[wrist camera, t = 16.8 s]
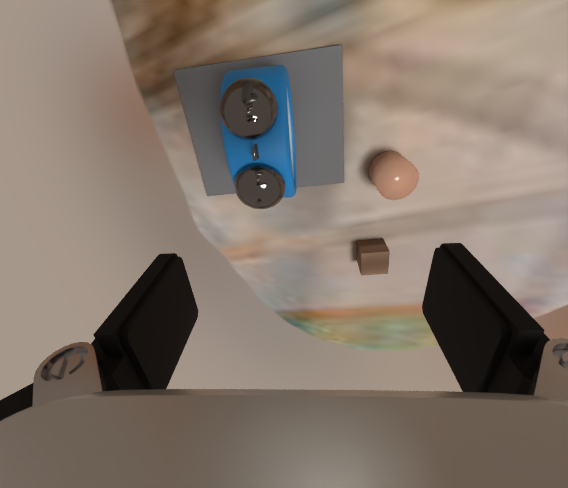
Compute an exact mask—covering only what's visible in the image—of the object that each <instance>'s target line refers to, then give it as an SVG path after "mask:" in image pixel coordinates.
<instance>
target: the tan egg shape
mask: <svg viewBox="0 0 568 488" xmlns="http://www.w3.org/2000/svg"><path fill="white" fill-rule="evenodd" d="M369 176H370V179H371V181H372V182H373V184H374V185H375V187H376V188H377V190H378V191H379V193H380V194H381V195H382V196H383V197H385V198H387V199H390V200H398V199H402V198H404V197H406V196H408V195H409V194H410V193H412V191H413V190H414V189H415V188H416V186H417V183H418V180H419V173H418V170H417V168H416V167H415V166H414V165H413V164H412V163H411V162H410V161H408V160H407V159H406V158H405V157H403V156H402V155H401V154H399V153H398V152H395V151H386V152H383V153H381V154H379V155H378V156H376V157H375V158H374V159H373V161H372V162H371V164H370V167H369Z"/></svg>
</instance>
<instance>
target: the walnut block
mask: <svg viewBox="0 0 568 488" xmlns="http://www.w3.org/2000/svg"><path fill="white" fill-rule="evenodd" d="M389 252H390V251H389V249H388V247H387V245H386V243H385V241H384V239H383V238H381V239H368V240H357V263H358V266H359V269H360V273H361V275H373V274H388V266H389Z"/></svg>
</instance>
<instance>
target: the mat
mask: <svg viewBox="0 0 568 488" xmlns="http://www.w3.org/2000/svg"><path fill="white" fill-rule="evenodd" d="M273 65H284V66H285V67H286V68H287V71H288V75H289V82H290V91H291V100H292V111H293V124H294V138H295V155H296V187H306V186H316V185H326V184H336V183H344V136H343V71H342V45H337V46H330V47H324V48H317V49H310V50H304V51H297V52H291V53H284V54H277V55H271V56H264V57H257V58H251V59H244V60H238V61H231V62H224V63H218V64H211V65H204V66H198V67H191V68H185V69H178V70H173V72H174V76H175V80H176V83H177V87H178V91H179V94H180V98H181V102H182V105H183V109H184V113H185V117H186V120H187V124H188V128H189V131H190V135H191V139H192V142H193V146H194V150H195V153H196V157H197V161H198V164H199V168H200V172H201V175H202V179H203V183H204V187H205V190H206V194H207V196H214V195H224V194H234V193H236V192H235V186H234V183H233V181H232V178H231V174H230V171H229V167H228V163H227V159H226V154H225V149H224V143H223V136H222V127H221V114H220V94H221V85H222V81H223V78H224V75H225V74H226V73H227V72H228V71H231V70H239V69H247V68H256V67H265V66H273Z"/></svg>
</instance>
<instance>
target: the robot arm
mask: <svg viewBox="0 0 568 488" xmlns="http://www.w3.org/2000/svg"><path fill="white" fill-rule="evenodd" d="M422 309H423V314H424V316H425V318H426V320H427V322H428V324H429V326H430V328H431V330H432V332H433V334H434V336H435V338H436V340H437V342H438V344H439V346H440V347H441V349H442V351H443V353H444V355H445V357H446V359H447V361H448V363H449V365H450V367H451V369H452V371H453V373H454V375H455V377H456V379H457V381H458V383H459V385H460V387H461V389H462V391H463V392H445V391H375V390H263V389H261V390H260V389H248V390H247V389H166V388H167V386H168V383H169V381H170V379H171V377H172V374H173V372H174V370H175V367H176V365H177V363H178V361H179V358H180V356H181V354H182V352H183V349H184V347H185V345H186V343H187V340H188V338H189V335H190V333H191V331H192V329H193V327H194V324H195V322H196V320H197V317H198V309H197V305H196V302H195V298H194V295H193V292H192V289H191V286H190V282H189V279H188V276H187V273H186V270H185V266H184V263H183V260H182V258H181V257H178V256H177V254H175V253H173V254H172V253H171V254H159V255H158V256H157V257H156V259H155V260H154V261H153V262H152V264H151V265H150V266H149V267H148V269H147V270H146V271H145V272H144V273H143V275H142V276H141V277H140V278H139V279H138V281H137V282H136V283H135V284H134V286H133V287H132V288H131V289H130V291H129V292H128V293H127V294H126V295H125V297H124V298H123V299H122V300H121V302H120V303H119V304H118V306H117V307H116V308H115V309H114V310H113V311H112V313H111V314H110V315H109V316H108V318H107V319H106V320H105V321H104V323H103V324H102V325H101V326H100V327H99V329H98V330H97V331H96V332H95V333H94V337H95V340H94V341H93V342H92V343H91V344H89V343H87V342H79V343H73V344H70V345H68V346H65V347H63V348H61V349H59V350H57V351H55V352H54V353H53V354H51V355H50V356H49V357H47V358H46V359H45V360H44V361H43V362H42V363H41V364H40V366H39V367H38V368H37V370H36V372H35V376H34V383H32V384H30V385H28V386H27V387H25V388H23V389H21V390H19V391H17V392H15V393H13V394H11V395H10V396H8V397H6V398H4V399H2V400H0V488H568V339H563V338H560V339H552V340H550V339H549V338H548V337H547V336H546V335H545V334H544V333H543V332H544V329H543V328H542V327H541V326H540V325H539V324H538V323H537V322H536V321H535V320H534V319H533V318H532V317H531V316H530V315H529V314H528V312H527V311H526V310H525V309H524V308H523V307H522V306H521V305H520V304H519V303H518V302H517V301H516V300H515V299H514V298H513V297H512V296H511V295H510V294H509V293H508V292H507V291H506V289H505V288H504V287H503V286H502V285H501V284H500V283H499V282H498V281H497V280H496V279H495V278H494V277H493V276H492V275H491V274H490V273H489V272H488V271H487V270H486V269H485V267H484V266H483V265H482V264H481V263H480V262H479V261H478V260H477V259H476V258H475V257H474V256H473V255H472V254H471V253H470V252H469V251H468V250H467V249H466V248H465V247H464V246H463V245H462V244H461V243H446V244H441V246H440V248H436V249H435V251H434V255H433V260H432V264H431V269H430V273H429V278H428V282H427V287H426V291H425V296H424V300H423V305H422Z"/></svg>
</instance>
